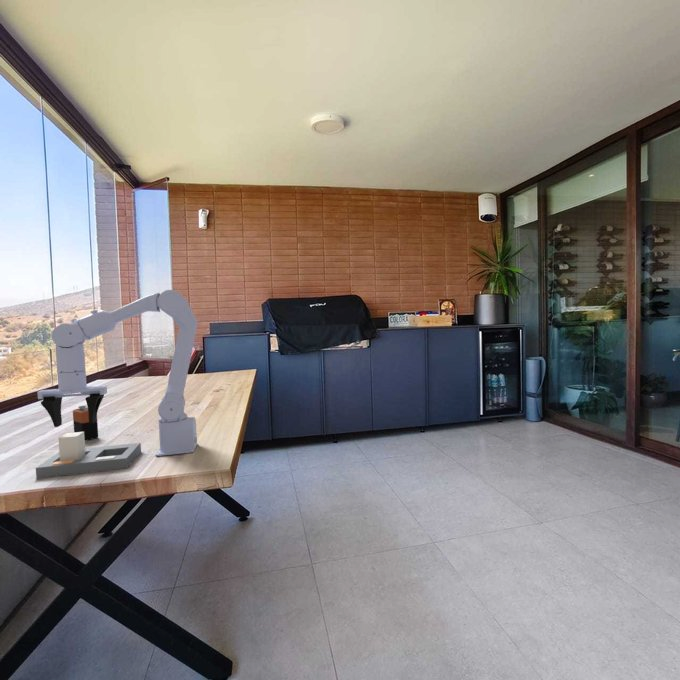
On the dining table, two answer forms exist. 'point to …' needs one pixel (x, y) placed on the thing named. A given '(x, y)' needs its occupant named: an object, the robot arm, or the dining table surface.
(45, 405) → the robot arm
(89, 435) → the battery
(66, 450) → the plug
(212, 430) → the dining table surface
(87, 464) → the socket block
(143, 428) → the dining table surface
